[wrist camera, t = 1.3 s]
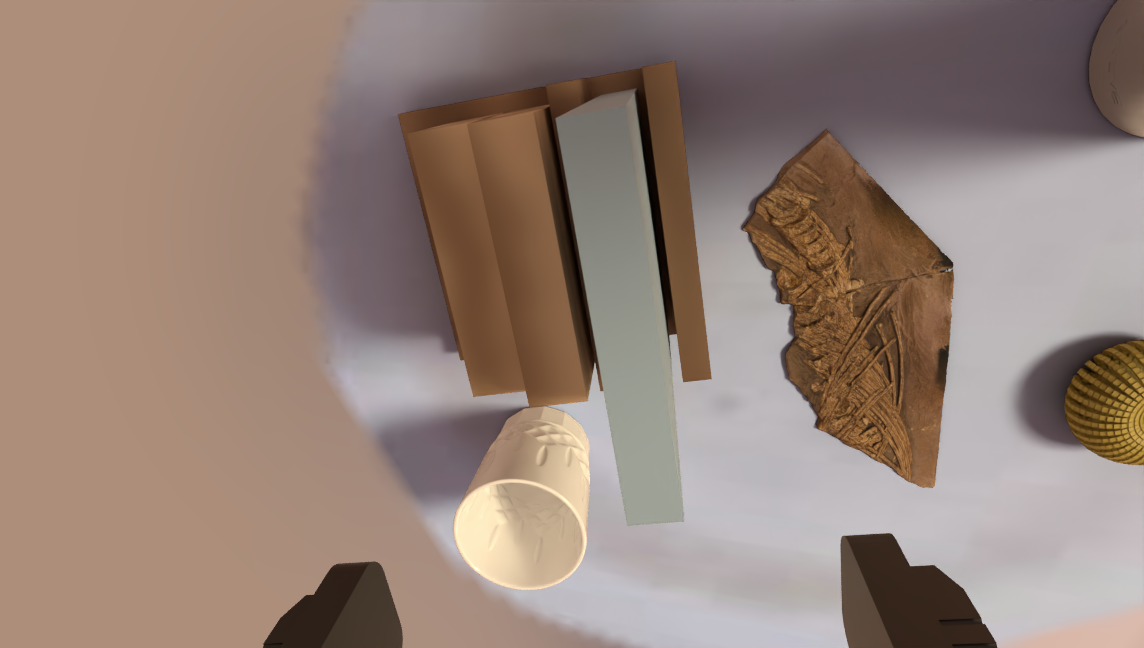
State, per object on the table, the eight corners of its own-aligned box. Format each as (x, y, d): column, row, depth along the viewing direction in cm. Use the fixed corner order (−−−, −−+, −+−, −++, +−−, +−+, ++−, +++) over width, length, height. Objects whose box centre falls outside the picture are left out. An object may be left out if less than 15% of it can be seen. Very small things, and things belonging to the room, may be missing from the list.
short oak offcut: (502, 113, 38) (467, 123, 31) (547, 335, 43) (526, 390, 35) (453, 122, 39) (407, 134, 31) (503, 341, 43) (473, 396, 36)
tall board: (636, 88, 37) (625, 105, 18) (667, 320, 42) (683, 521, 23) (601, 94, 37) (555, 118, 19) (636, 324, 42) (627, 525, 23)
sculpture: (1137, 501, 40) (1061, 414, 39) (1095, 464, 44) (1024, 384, 42) (1274, 423, 37) (1198, 328, 36) (1217, 391, 41) (1146, 303, 40)
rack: (669, 63, 38) (675, 60, 30) (699, 322, 43) (711, 378, 35) (406, 112, 40) (347, 122, 32) (466, 351, 46) (428, 410, 38)
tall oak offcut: (561, 102, 38) (533, 112, 28) (600, 328, 42) (587, 401, 33) (510, 111, 38) (466, 124, 29) (555, 334, 43) (529, 407, 33)
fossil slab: (724, 165, 40) (726, 168, 39) (915, 96, 37) (922, 97, 36) (828, 507, 47) (832, 516, 46) (991, 468, 45) (998, 477, 44)
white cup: (469, 446, 48) (426, 536, 39) (537, 376, 46) (508, 454, 36) (550, 510, 50) (528, 611, 40) (620, 445, 47) (614, 538, 38)
